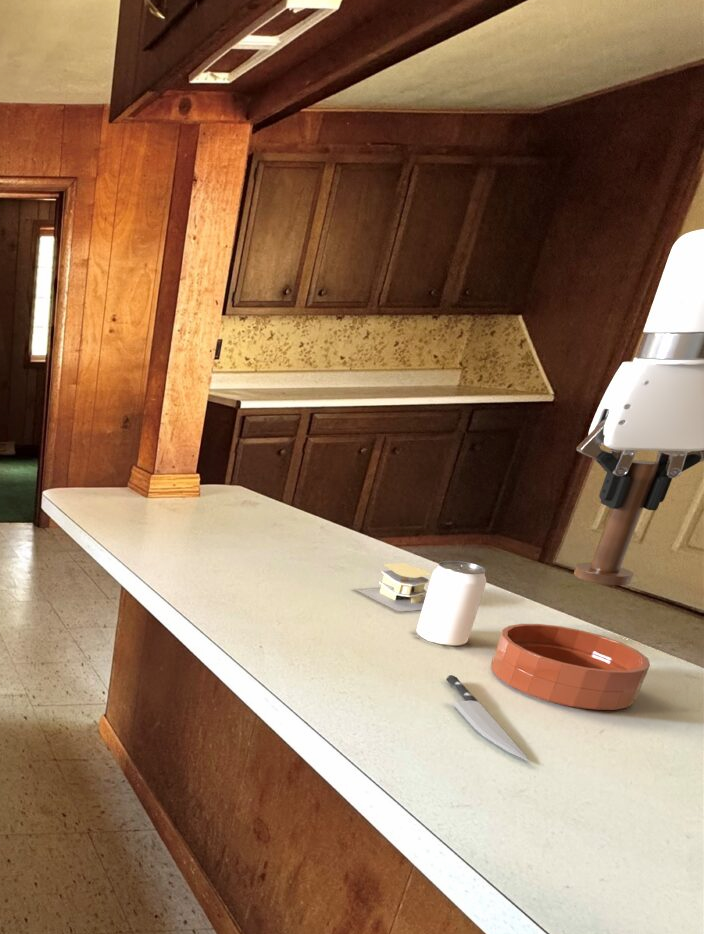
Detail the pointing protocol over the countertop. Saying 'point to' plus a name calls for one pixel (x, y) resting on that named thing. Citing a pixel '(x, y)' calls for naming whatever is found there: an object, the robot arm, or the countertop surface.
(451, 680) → the chef's knife
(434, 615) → the can
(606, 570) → the brown post with base
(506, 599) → the countertop surface
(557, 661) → the bowl
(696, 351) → the robot arm
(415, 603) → the stacked layers on plate
